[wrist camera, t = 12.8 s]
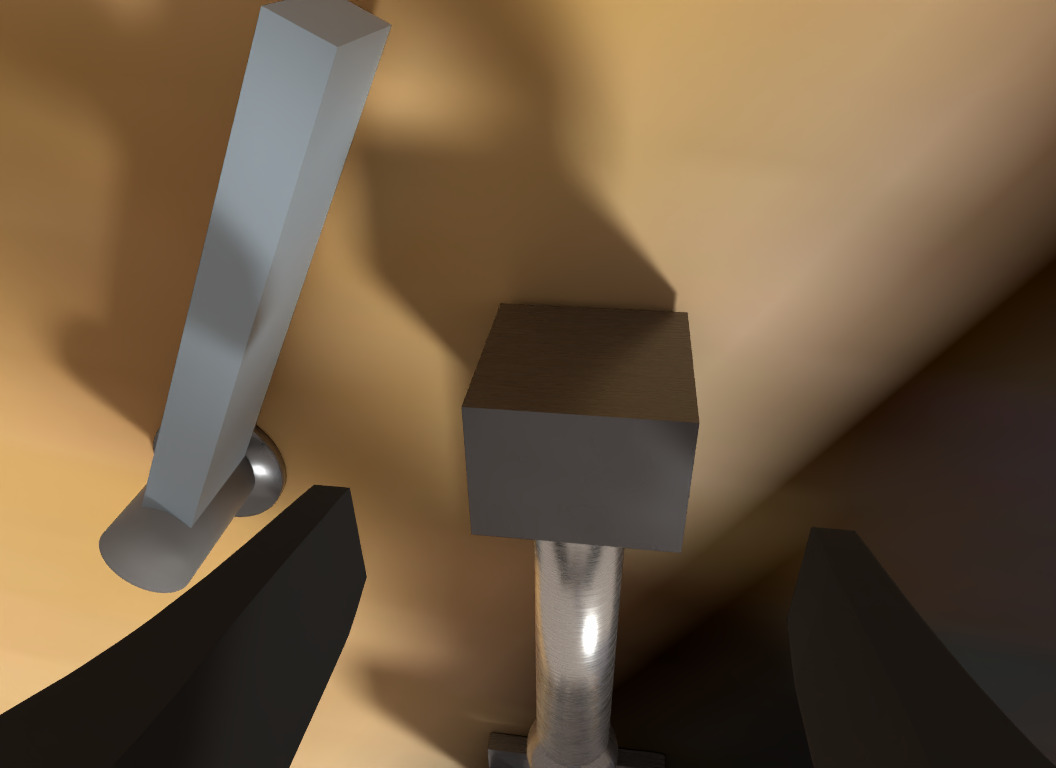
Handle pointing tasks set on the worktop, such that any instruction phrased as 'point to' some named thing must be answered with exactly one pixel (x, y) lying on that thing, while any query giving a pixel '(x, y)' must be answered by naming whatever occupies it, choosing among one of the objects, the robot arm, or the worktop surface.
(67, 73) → the worktop surface
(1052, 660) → the worktop surface
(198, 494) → the grey lever bar
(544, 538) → the hook rod
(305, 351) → the worktop surface
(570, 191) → the worktop surface
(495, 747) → the eye bracket
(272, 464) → the base
